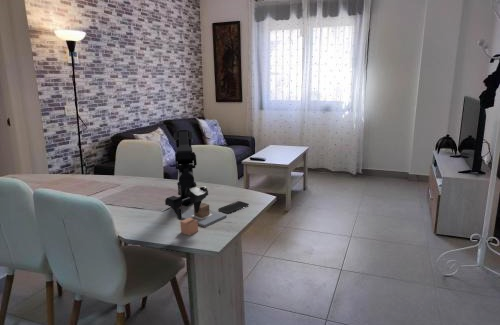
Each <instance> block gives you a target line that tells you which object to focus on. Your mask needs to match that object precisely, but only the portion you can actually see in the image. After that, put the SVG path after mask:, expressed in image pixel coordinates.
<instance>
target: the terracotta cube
mask: <svg viewBox="0 0 500 325" xmlns="http://www.w3.org/2000/svg"><path fill="white" fill-rule="evenodd" d="M179 221H180V222H179V224H180V232H181V233H182V234H185V235H186V236H187V235H188V236H191V235H193V234H195V233H197V232H199V225H198V221H197V220H195V219H192V218H187V219H185V220H182V219H181V220H179Z"/></svg>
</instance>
